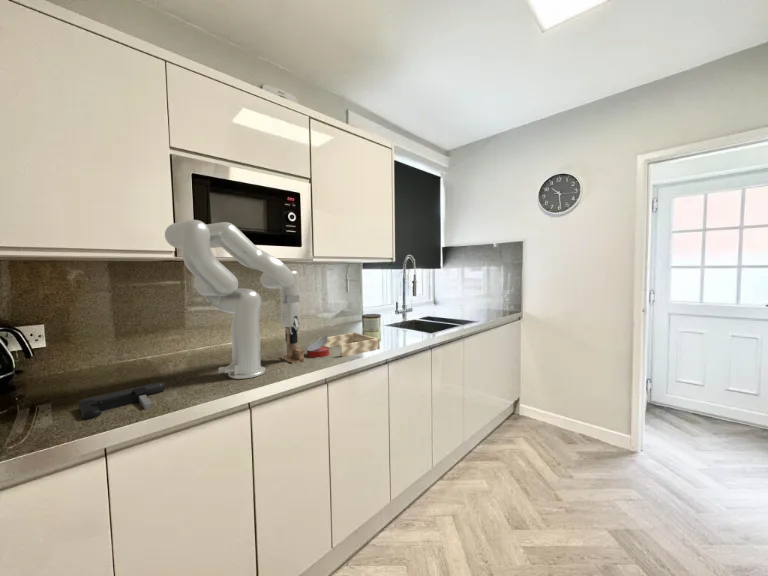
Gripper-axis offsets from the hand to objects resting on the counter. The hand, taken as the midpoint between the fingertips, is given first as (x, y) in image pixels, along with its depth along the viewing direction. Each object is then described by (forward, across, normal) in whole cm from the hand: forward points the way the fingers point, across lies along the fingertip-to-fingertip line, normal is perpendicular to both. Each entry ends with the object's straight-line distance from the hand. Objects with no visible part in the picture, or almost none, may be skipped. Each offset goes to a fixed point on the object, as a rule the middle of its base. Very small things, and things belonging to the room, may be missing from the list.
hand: (291, 342), depth 137 cm
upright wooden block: (+8, 0, 0) cm, 8 cm away
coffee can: (+8, -7, +48) cm, 50 cm away
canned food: (+8, 0, +12) cm, 15 cm away
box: (+8, 0, +29) cm, 30 cm away
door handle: (+8, +13, -55) cm, 57 cm away
